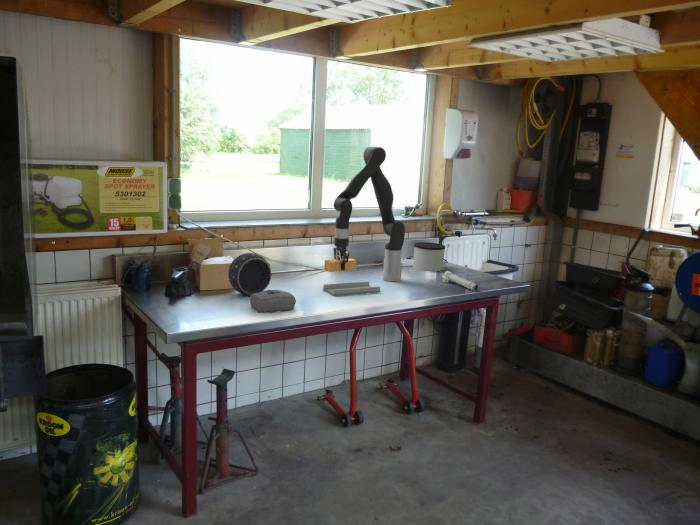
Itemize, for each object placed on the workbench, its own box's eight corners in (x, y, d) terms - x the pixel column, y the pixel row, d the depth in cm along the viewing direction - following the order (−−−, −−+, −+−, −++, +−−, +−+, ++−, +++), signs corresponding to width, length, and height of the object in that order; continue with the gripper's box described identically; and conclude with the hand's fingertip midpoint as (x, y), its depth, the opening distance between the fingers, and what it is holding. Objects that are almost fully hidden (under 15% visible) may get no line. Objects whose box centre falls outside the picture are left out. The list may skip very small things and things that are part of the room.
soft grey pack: (258, 315, 252) (301, 311, 262) (259, 296, 250) (302, 292, 260) (246, 306, 265) (287, 302, 275) (246, 287, 263) (288, 284, 273)
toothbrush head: (473, 284, 313) (441, 268, 333) (470, 296, 315) (439, 280, 335) (480, 284, 316) (448, 268, 336) (477, 295, 318) (446, 279, 338)
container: (436, 273, 354) (438, 248, 351) (407, 268, 363) (409, 244, 360) (447, 268, 370) (449, 245, 367) (420, 264, 379) (421, 241, 376)
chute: (351, 267, 317) (351, 258, 316) (356, 269, 312) (357, 260, 311) (324, 269, 310) (324, 260, 309) (329, 272, 305) (329, 262, 304)
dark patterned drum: (273, 295, 285) (274, 254, 281) (235, 299, 273) (235, 257, 270) (263, 289, 294) (264, 250, 290) (225, 294, 282) (225, 252, 278)
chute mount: (367, 286, 312) (368, 281, 312) (380, 292, 301) (380, 286, 300) (322, 289, 300) (323, 284, 299) (334, 296, 289) (334, 290, 288)
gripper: (354, 238, 303) (353, 271, 307) (341, 234, 315) (340, 265, 319) (341, 239, 300) (340, 272, 303) (329, 234, 312) (328, 266, 315)
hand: (340, 268), depth 311 cm, fingers closed on chute, 4 cm apart
